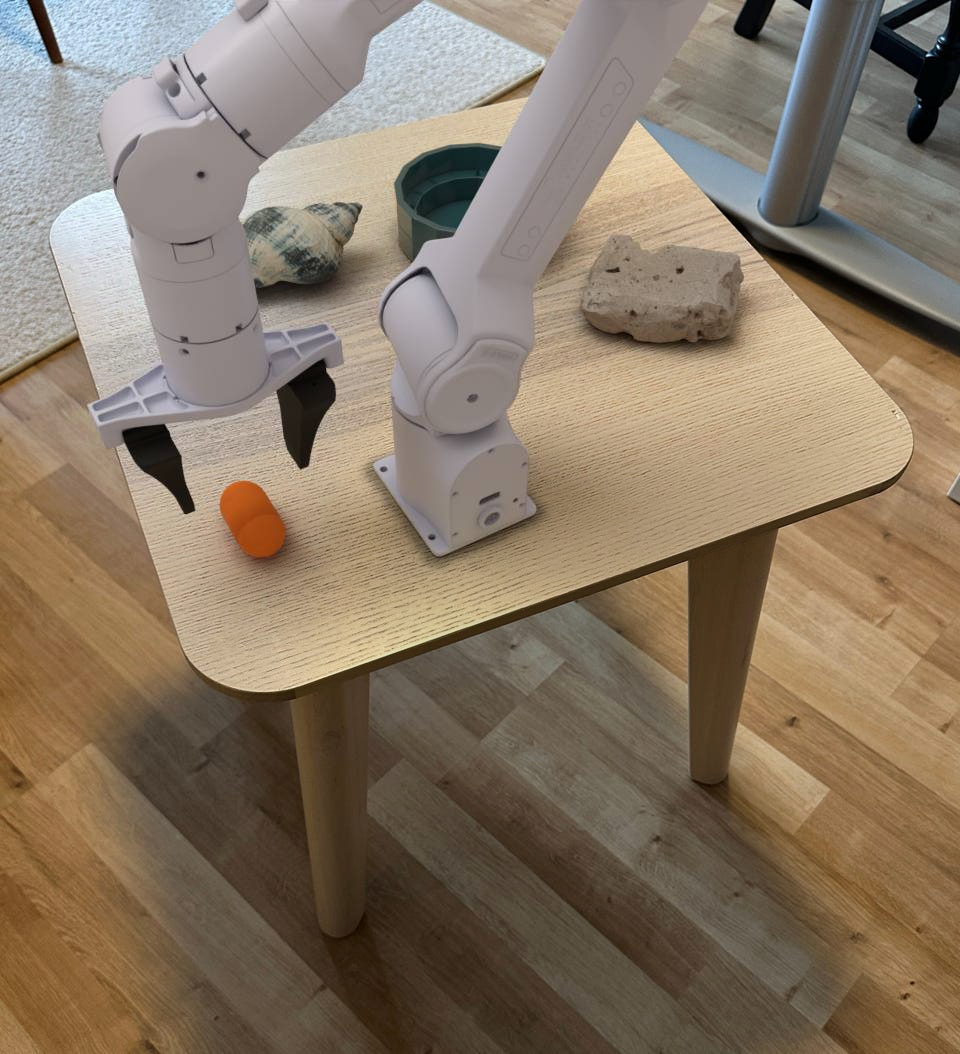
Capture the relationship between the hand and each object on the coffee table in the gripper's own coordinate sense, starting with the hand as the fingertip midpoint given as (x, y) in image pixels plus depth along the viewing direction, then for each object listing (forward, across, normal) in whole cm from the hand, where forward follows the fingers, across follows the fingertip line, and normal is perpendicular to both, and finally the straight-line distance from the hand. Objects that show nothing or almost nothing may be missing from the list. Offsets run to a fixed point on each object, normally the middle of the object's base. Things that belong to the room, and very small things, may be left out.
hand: (242, 479), depth 68 cm
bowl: (+5, -30, -22) cm, 37 cm away
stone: (+6, -38, -6) cm, 38 cm away
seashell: (+6, -14, -24) cm, 28 cm away
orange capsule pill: (+5, 0, 0) cm, 5 cm away
